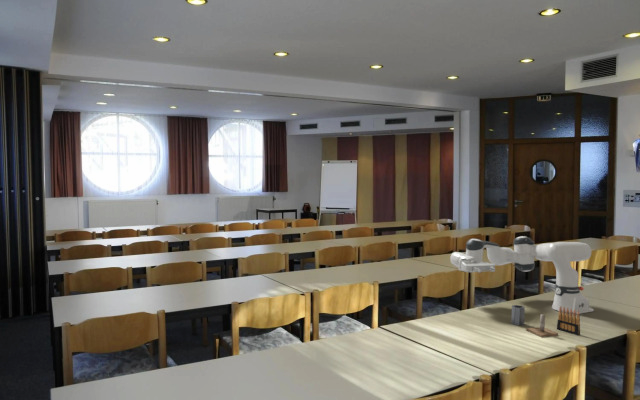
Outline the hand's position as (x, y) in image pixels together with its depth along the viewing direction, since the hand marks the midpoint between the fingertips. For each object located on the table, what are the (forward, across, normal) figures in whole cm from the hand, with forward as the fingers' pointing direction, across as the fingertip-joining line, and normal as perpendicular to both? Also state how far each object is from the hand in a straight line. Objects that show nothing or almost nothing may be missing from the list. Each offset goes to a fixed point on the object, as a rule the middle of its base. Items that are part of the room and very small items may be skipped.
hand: (487, 270), depth 274 cm
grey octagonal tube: (+24, -2, -22) cm, 32 cm away
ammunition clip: (+42, -16, -20) cm, 49 cm away
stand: (+39, -2, -20) cm, 44 cm away
